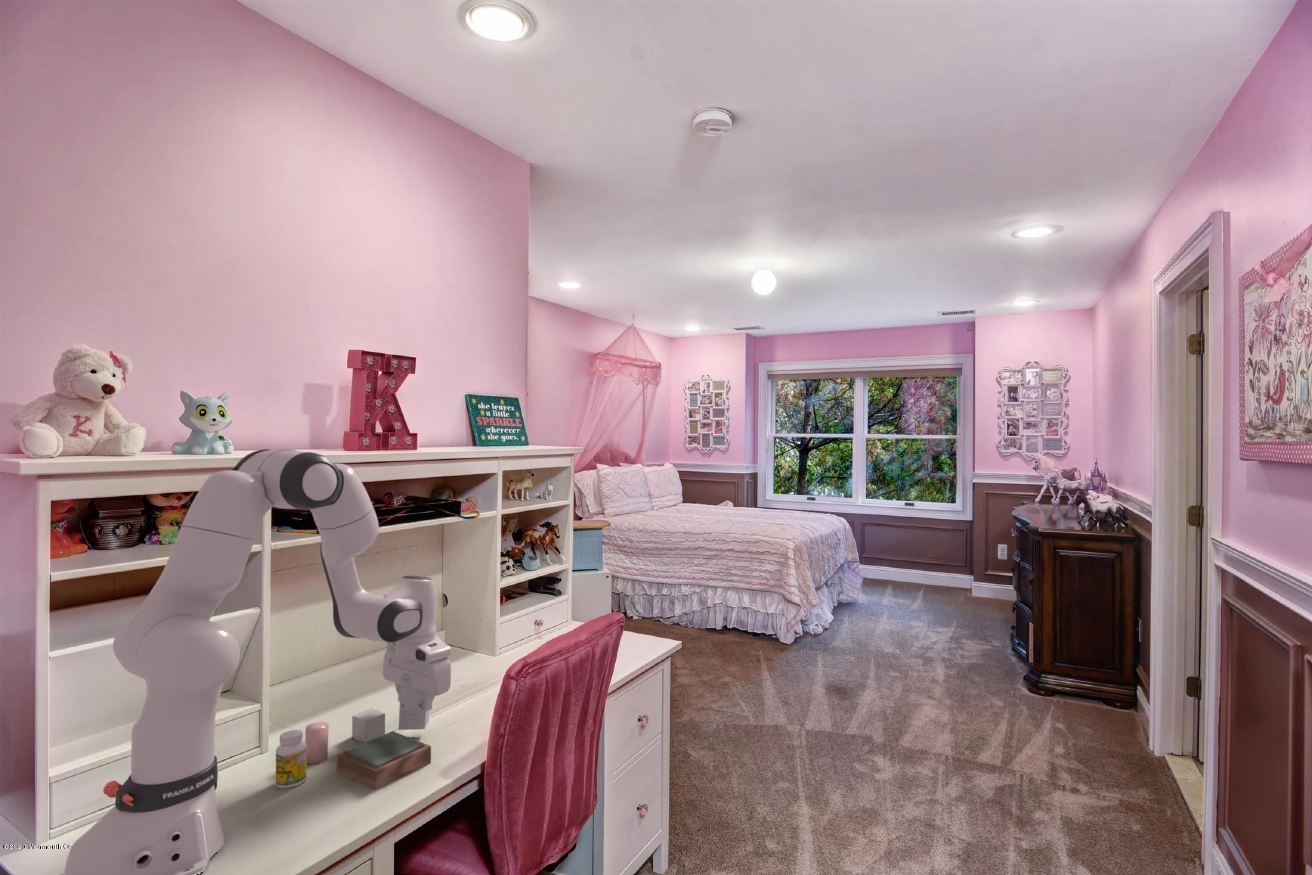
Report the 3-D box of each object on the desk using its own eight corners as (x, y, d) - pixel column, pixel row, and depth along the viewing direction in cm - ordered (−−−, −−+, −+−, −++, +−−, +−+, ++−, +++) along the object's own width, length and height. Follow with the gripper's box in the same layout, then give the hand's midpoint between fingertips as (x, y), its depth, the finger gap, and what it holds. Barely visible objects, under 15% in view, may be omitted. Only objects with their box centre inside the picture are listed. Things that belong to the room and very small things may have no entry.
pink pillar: (312, 765, 137) (313, 732, 137) (299, 760, 139) (301, 727, 139) (331, 757, 141) (333, 724, 141) (319, 752, 143) (320, 720, 143)
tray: (375, 789, 128) (375, 768, 128) (336, 771, 135) (337, 751, 135) (430, 762, 139) (430, 743, 139) (392, 746, 146) (392, 728, 146)
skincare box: (398, 730, 149) (399, 676, 149) (402, 722, 153) (403, 670, 153) (426, 729, 150) (427, 675, 150) (430, 721, 154) (431, 669, 154)
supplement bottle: (312, 776, 133) (313, 729, 133) (292, 790, 127) (293, 741, 127) (289, 774, 134) (289, 726, 134) (268, 787, 128) (269, 738, 129)
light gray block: (365, 742, 148) (365, 720, 148) (352, 737, 151) (352, 715, 151) (384, 734, 152) (385, 713, 152) (371, 729, 155) (372, 708, 155)
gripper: (376, 641, 155) (375, 700, 154) (433, 656, 144) (432, 720, 143) (399, 634, 160) (398, 692, 160) (456, 649, 149) (455, 710, 149)
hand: (414, 705), depth 151 cm, fingers closed on skincare box, 7 cm apart
